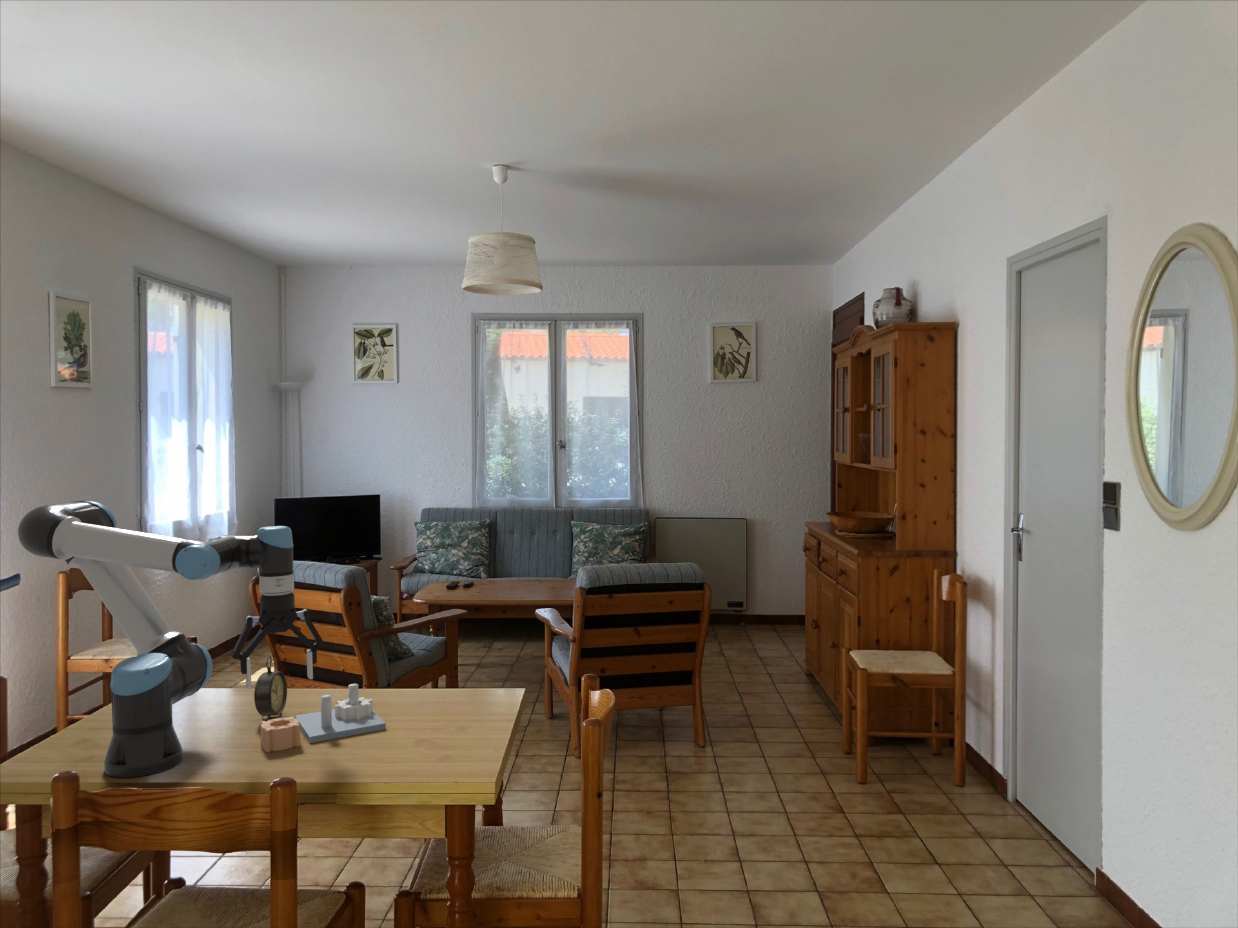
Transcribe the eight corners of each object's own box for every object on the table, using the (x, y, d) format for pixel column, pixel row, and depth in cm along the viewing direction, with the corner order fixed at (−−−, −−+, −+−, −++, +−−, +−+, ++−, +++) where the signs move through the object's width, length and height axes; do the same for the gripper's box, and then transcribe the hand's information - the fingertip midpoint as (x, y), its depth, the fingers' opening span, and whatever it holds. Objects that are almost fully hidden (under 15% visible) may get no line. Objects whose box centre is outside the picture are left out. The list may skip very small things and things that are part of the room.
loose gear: (265, 752, 196) (264, 731, 196) (259, 742, 203) (259, 721, 203) (301, 745, 200) (301, 724, 200) (295, 735, 207) (294, 715, 207)
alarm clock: (272, 725, 215) (270, 661, 214) (250, 725, 215) (249, 661, 214) (288, 711, 226) (287, 650, 225) (268, 711, 226) (266, 650, 225)
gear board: (309, 743, 202) (308, 705, 202) (295, 721, 218) (294, 686, 217) (385, 728, 211) (385, 692, 211) (366, 709, 227) (366, 675, 227)
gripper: (220, 601, 191) (223, 695, 192) (335, 589, 204) (338, 677, 204) (216, 596, 197) (219, 687, 198) (328, 584, 210) (331, 670, 211)
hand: (279, 682), depth 201 cm, fingers open, 13 cm apart
